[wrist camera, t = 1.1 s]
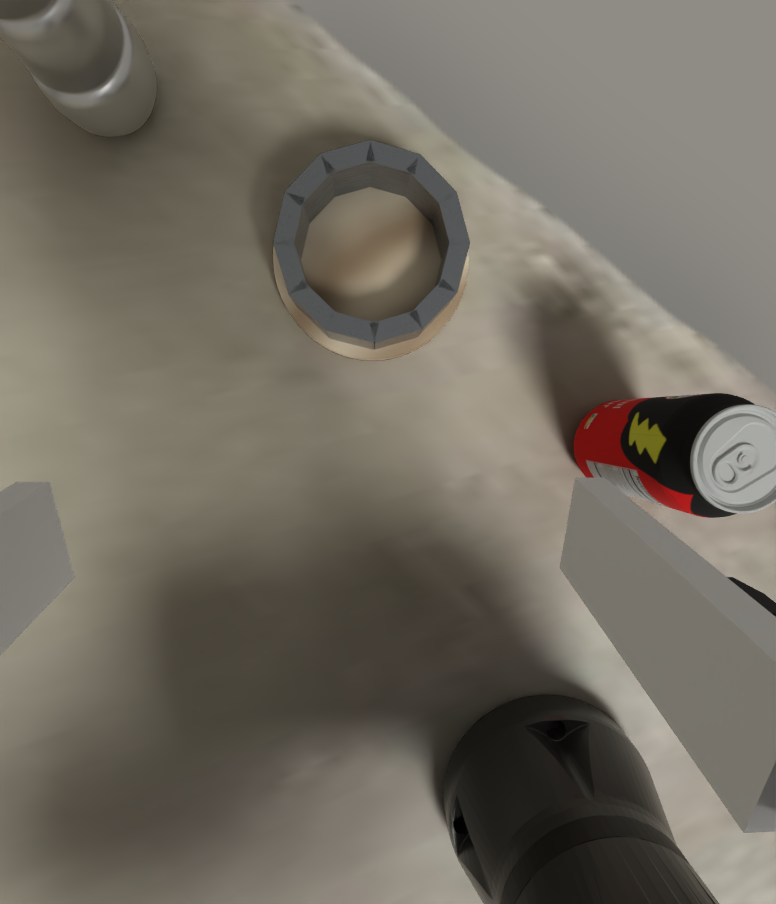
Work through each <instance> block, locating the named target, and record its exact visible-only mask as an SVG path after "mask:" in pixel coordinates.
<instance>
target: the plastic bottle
mask: <svg viewBox="0 0 776 904" xmlns="http://www.w3.org/2000/svg"><path fill="white" fill-rule="evenodd" d="M0 37H1V38H2V39H3V41H4V42H5V43H6V44H7V45H8V47H9V48H10V49H11V50H12V51H13V52H14V54H15V55H16V56H17V57H18V58H19V60H20V61H21V62H22V63H23V64H24V65H25V67H26V68H27V69H28V71H29V72H30V74H31V76H32V77H33V79H34V80H35V82H36V83H37V85H38V86H39V88H40V89H41V90H42V92H43V93H44V94H45V96H46V97H47V98H48V99H49V101H50V102H51V103H52V104H53V106H54V107H55V108H56V109H57V110H58V111H59V112H60V113H61V114H63V115H64V116H65V117H67V118H68V119H69V120H71V121H72V122H74V123H75V124H77V125H78V126H80V127H81V128H83V129H84V130H86V131H88V132H90V133H92V134H95V135H99V136H103V137H116V136H122V135H127V134H130V133H132V132H134V131H136V130H137V129H139V128H140V127H141V126H142V125H143V124H144V123H145V122H146V121H147V119H148V118H149V116H150V115H151V112H152V109H153V107H154V104H155V100H156V94H157V79H156V74H155V70H154V67H153V65H152V62H151V60H150V57H149V54H148V52H147V49H146V47H145V44H144V42H143V40H142V39H141V37H140V35H139V34H138V32H137V31H136V30H135V29H134V27H133V26H132V25H131V24H130V22H129V21H128V20H127V19H126V17H125V16H124V15H123V14H122V13H121V12H120V10H119V9H118V8H117V7H116V6H115V5H114V4H113V3H112V2H111V1H110V0H0Z"/></svg>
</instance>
